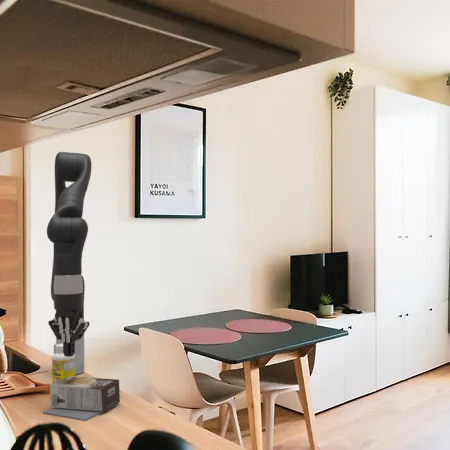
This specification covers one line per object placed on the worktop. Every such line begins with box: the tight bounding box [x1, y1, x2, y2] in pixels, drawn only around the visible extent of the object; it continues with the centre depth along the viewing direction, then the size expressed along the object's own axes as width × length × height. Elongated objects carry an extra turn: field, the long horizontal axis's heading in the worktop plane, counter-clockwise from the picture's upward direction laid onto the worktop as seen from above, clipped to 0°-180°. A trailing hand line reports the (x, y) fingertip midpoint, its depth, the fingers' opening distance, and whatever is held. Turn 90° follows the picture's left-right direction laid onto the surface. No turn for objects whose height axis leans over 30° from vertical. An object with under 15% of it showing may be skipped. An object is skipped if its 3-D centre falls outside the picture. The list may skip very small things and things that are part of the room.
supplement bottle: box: [51, 343, 76, 384], centre depth 162 cm, size 7×7×13 cm
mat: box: [42, 403, 119, 422], centre depth 140 cm, size 14×13×1 cm
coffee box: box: [49, 376, 121, 413], centre depth 142 cm, size 9×6×16 cm
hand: (68, 355), depth 142 cm, fingers closed
